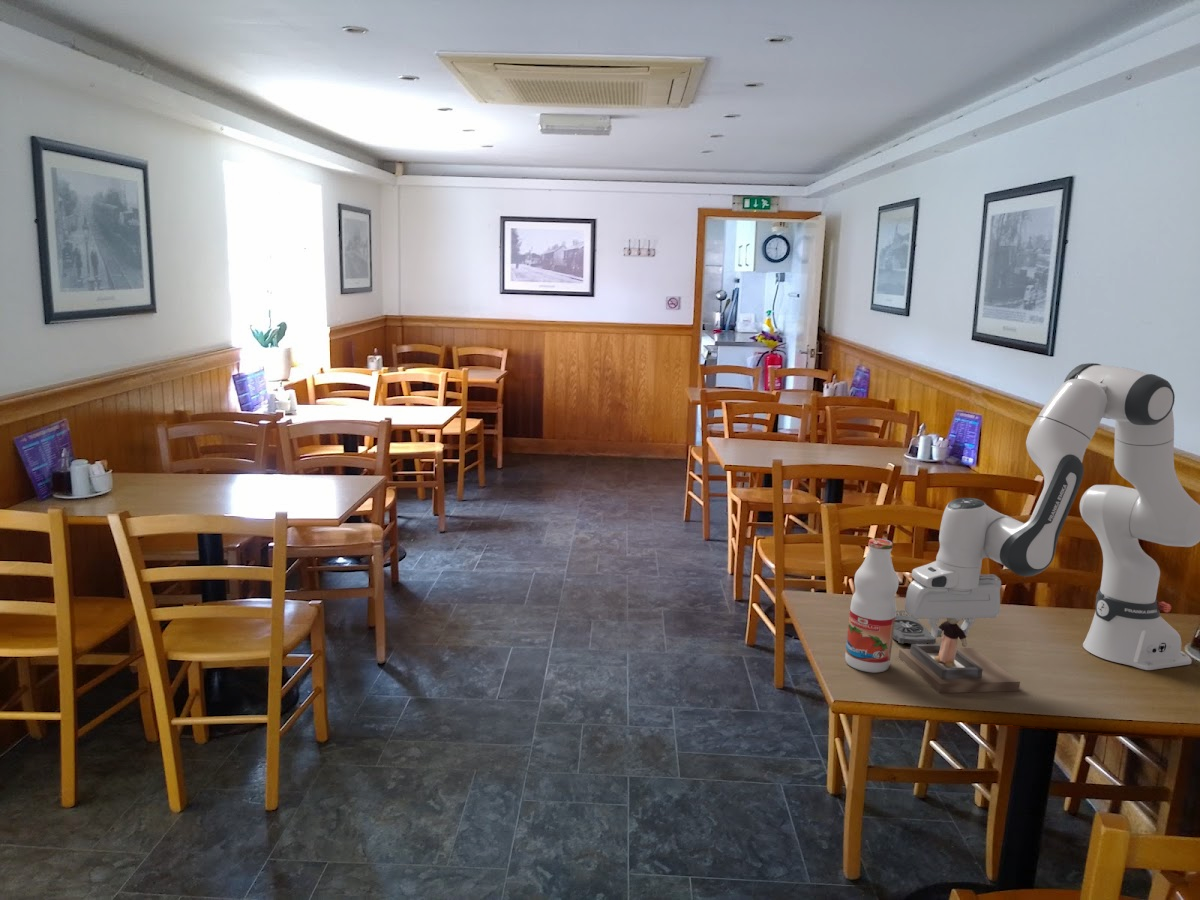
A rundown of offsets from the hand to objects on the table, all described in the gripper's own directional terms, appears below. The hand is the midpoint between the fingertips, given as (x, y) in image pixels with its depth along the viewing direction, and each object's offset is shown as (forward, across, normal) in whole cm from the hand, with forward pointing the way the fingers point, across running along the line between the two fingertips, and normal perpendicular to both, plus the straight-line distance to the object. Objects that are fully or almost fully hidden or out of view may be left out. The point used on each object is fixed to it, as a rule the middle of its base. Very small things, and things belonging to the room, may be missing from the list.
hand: (948, 636), depth 184 cm
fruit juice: (+9, +15, -6) cm, 18 cm away
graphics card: (+9, -1, -22) cm, 24 cm away
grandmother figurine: (+6, 0, 0) cm, 6 cm away
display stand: (+9, -3, 0) cm, 9 cm away
